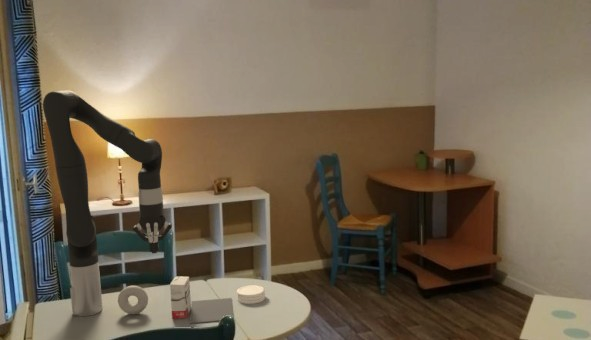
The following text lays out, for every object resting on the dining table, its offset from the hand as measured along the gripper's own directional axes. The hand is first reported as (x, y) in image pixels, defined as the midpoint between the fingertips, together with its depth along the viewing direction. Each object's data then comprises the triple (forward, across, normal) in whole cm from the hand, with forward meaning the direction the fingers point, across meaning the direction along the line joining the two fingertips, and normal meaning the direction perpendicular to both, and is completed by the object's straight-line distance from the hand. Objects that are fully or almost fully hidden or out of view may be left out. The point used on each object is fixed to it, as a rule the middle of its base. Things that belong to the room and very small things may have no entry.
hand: (154, 252), depth 185 cm
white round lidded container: (+22, +32, +8) cm, 39 cm away
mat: (+22, +18, 0) cm, 28 cm away
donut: (+22, -8, +3) cm, 24 cm away
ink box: (+22, +8, 0) cm, 23 cm away
